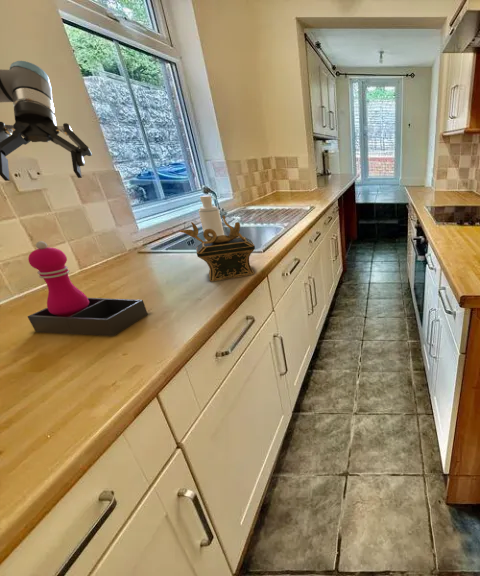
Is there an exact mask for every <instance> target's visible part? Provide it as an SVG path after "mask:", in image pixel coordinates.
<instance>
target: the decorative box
mask: <svg viewBox="0 0 480 576" xmlns="http://www.w3.org/2000/svg"><path fill="white" fill-rule="evenodd" d="M221 217H222V220H223V224H224V225H225V226H227V227H228V229H229V234H228V235H226V234H224V235H220V236H217V235H216V232H215V231H214V230H212V229H206V230H205V231H204V232H203V234H202V235H203V238H204V239H206V240H207V241H206V240H205V241H204V240H203V239H201V238H200V237H199V236H198V235H199V228H198V227H197V225H196V224H195V223H194V222H193V221H191V222H190V223H191V227H192V229H180V230H179V233H183V234H186V235H188V236H190V238H194V239H196V240H197V241H199V242H201V243H200V244H198V245H197V246H196V256H197V257H198V258H199V259H201V260H202V261H204V262H205V263H206V264H207V265H208V268H209V270H208V278H209V282H217V281H223V280H229V279H230V280H231V279H235V278H240V277H248V276H252V275H254V274H255V271H254V270H253V268H252V266H251V264H250V256H251V255H252V254H253V252H254V251H255V249H256V245H255V243H254V242H253V241H252V240H251V239H250V238H247V237H246V236H243V235H242V234H241V233H240V230H241V223H240V222H239V221H237V222H234V226H231V225H230V224H229V223H228V222H227V221H226V218H227V217H226V215H225V214H224V213H223V214H221ZM209 233H211V234H212V236H209Z"/></svg>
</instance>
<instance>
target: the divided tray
mask: <svg viewBox="0 0 480 576" xmlns="http://www.w3.org/2000/svg"><path fill="white" fill-rule="evenodd" d="M87 298H88V300H89V305H88V307H87V308H85V309H83V310H81V311H79V312H77V313H75V314H73V315H71V316H69V317H58V316H56V315H53V314H51V313H50V312H49V310H48V307H45V308H43V309H40V310H39V311H37V312H34V313H31V314H29V315H26V316H27V318H28V320H29V323H30V324H31V327H32V328H33V330H34V331H35V333H44V334H45V333H46V334H64V335H66V334H67V335H82V336H83V335H85V336H104V337H106V336H107V337H115V336H116V335H118V334H119V333H121V332H122V331H124V330H126V329H127V328H129V327H130V326H133V325H134V324H135V323H137V322H139V321H140V320H142V319H143V318H145V317H146V316H148V315H149V313H148V311H147V308H146V305H145V302H144V299H133V298H132V299H131V298H105V297H87Z"/></svg>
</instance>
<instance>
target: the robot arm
mask: <svg viewBox="0 0 480 576" xmlns="http://www.w3.org/2000/svg"><path fill="white" fill-rule="evenodd" d="M0 103H12V104H13V112H14V113H13V115H14V123H13V124H5V122H3V121H0V177H1V178H2V179H3V180H4V181H5V182H9V181H10V170H9V159H8V158H7V156H8V155H9V154H11V153H13V152H14V151H17V149H18V148H20V147H21V146H23V145H28V144H29V143H31V142H32V143H39V142H41V143H49V142H52V143H54V144H55V145H58V146H59V147H61V148H63V149H64V150H66V151H68V152H70V157H71V163H72V170H73V172H74V174H75V175H76V178H77V179H81V178H83V176H82V169H81V167H84V166H85V159H84V158H85V157H86V156H87V157H92V156H93V153H92V151H91V150H90V148H89V146H88V145H87V144H86V143H85V142H84V141H83V140H82V139H81V138H80V137H79V136H78V135H77V134H76V133H74V131H73V130H72V128H71V126H70V124H69V123H67V122H64V123H63V124H62V125H57V120H56V116H55V107H54V101H53V87H52V85H51V82H50V78H49V75H48V74H47V72H46V71H45V70H43V69H42V68H41V67H39V66H38V65H37V64H34V63H32V62H29V61H26V60H16V61H13V62H12V63H11V64H10V66H9V69H0ZM60 133H62V134H63V135H65V136H66V137H67V136H68V138H69V139H70V140H71V141H72V142H73V143H74V144H75V145H74V144H73V143H71V142H70V141H69V140H66V139H65V138H63V137H61V136H60V135H59V134H60Z"/></svg>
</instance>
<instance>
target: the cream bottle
mask: <svg viewBox="0 0 480 576" xmlns="http://www.w3.org/2000/svg"><path fill="white" fill-rule="evenodd" d="M212 198H213V197H212V195H209V194H208V195H200V196H199V199H200V202H201V203H202V204H201V205H202V206H200V207H199V209H197V210H198V215H199V218H200V224H201V227H202V232H203V233H204V231H205V230H206V229H212V230H214V231H215V232H216V235H217V236H220V235H225V231H224V227H223V222H222V218H221V217H222V216H221V213H220V209H219V207H217V206H216V205H213V199H212ZM209 236H212V234H211V233H209ZM204 239H205V238H204ZM205 241H207V240H206V239H205Z"/></svg>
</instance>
